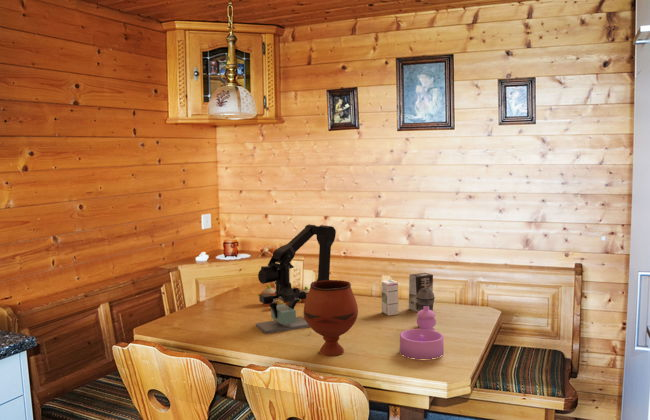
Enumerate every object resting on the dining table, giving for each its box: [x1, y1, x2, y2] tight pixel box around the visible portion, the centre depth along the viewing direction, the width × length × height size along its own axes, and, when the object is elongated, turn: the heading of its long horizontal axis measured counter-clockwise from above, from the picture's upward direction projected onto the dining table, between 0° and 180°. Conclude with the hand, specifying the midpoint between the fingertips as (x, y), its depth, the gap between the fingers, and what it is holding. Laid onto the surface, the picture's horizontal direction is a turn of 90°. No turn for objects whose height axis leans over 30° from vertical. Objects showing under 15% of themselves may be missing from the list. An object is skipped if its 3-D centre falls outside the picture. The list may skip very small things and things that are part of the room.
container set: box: [399, 306, 445, 359], centre depth 208 cm, size 25×15×13 cm, turn 163°
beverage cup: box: [417, 278, 436, 312], centre depth 235 cm, size 7×7×20 cm
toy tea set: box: [257, 285, 310, 310], centre depth 273 cm, size 26×16×10 cm, turn 133°
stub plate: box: [255, 316, 311, 335], centre depth 237 cm, size 20×12×4 cm, turn 117°
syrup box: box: [381, 279, 399, 316], centre depth 254 cm, size 6×6×14 cm
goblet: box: [303, 279, 359, 357], centre depth 204 cm, size 19×19×25 cm
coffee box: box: [408, 272, 434, 313], centre depth 260 cm, size 9×6×16 cm
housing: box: [270, 303, 297, 325], centre depth 237 cm, size 6×12×5 cm, turn 27°
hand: (283, 317), depth 237 cm, fingers closed on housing, 6 cm apart
